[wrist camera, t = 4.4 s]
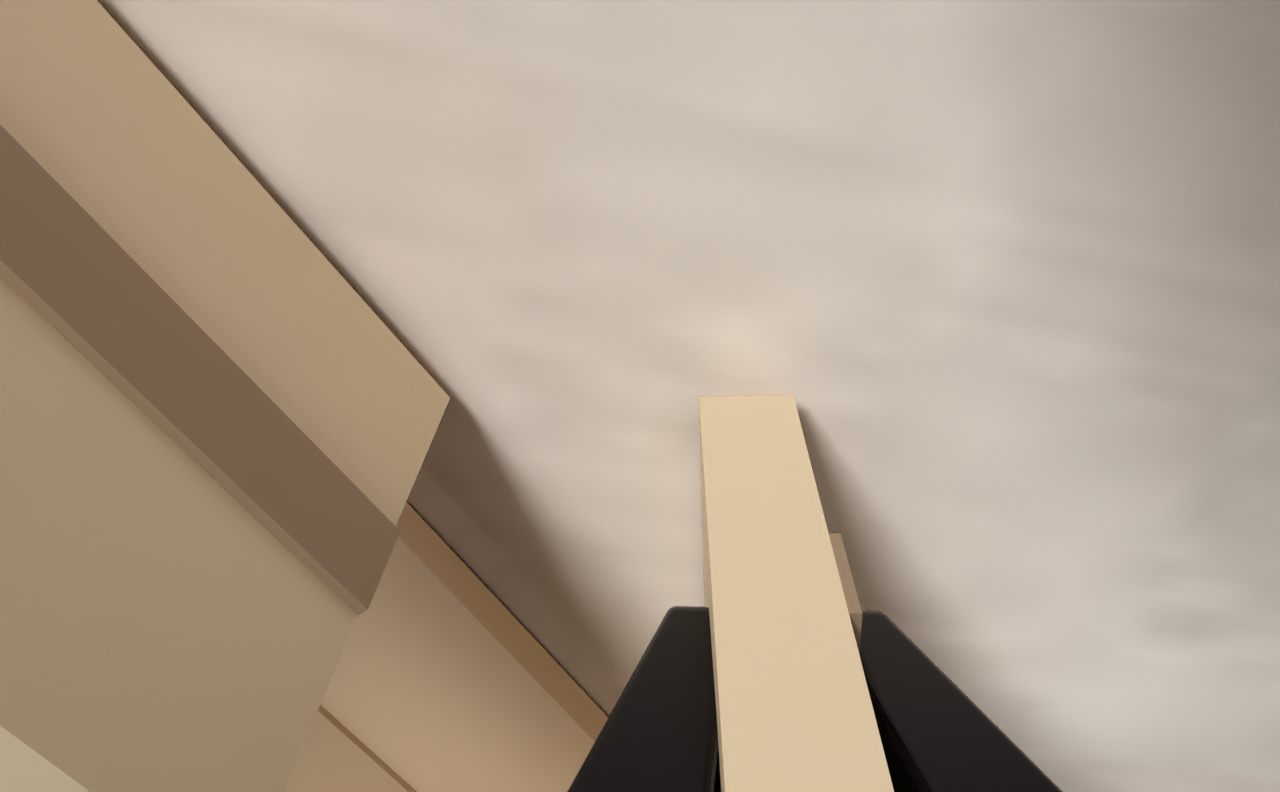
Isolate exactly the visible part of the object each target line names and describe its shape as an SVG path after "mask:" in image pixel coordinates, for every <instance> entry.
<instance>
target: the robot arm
mask: <svg viewBox="0 0 1280 792" xmlns="http://www.w3.org/2000/svg"><path fill="white" fill-rule="evenodd" d="M862 613H863V614H862V628H861V641H860V659H861V663H862V667H863V671H864V675H865V679H866V683H867V687H868V691H869V695H870V699H871V703H872V706H873V710H874V714H875V718H876V722H877V726H878V730H879V734H880V738H881V742H882V746H883V750H884V754H885V758H886V762H887V766H888V770H889V773H890V777H891V781H892V785H893V789H894V792H1062V791H1061V790H1060V789H1059V788H1058V787H1057V786H1056V785H1055V784H1054V783H1053V782H1052V781H1051V780H1050V779H1049V778H1048V777H1047V776H1046V775H1045V774H1044V773H1043V772H1042V771H1041V770H1040V769H1039V768H1038V767H1037V766H1036V765H1035V764H1034V763H1033V762H1032V761H1031V760H1030V759H1029V758H1028V757H1027V756H1026V755H1025V754H1024V753H1023V752H1022V751H1021V750H1020V749H1019V748H1018V747H1017V746H1016V745H1015V744H1014V743H1013V742H1012V741H1011V740H1010V739H1009V738H1008V737H1007V736H1006V735H1005V734H1004V733H1003V732H1002V731H1001V730H1000V729H999V728H998V727H997V726H996V725H995V724H994V723H993V722H992V721H991V720H990V719H989V718H988V717H987V716H986V715H985V714H984V713H983V712H982V711H981V710H980V709H979V708H978V707H977V706H976V705H975V704H974V703H973V702H972V701H971V700H970V699H969V698H968V697H967V696H966V695H965V694H964V693H963V692H962V691H961V690H960V689H959V688H958V687H957V686H956V685H955V684H954V683H953V682H952V681H951V680H950V679H949V678H948V677H947V676H946V675H945V674H944V673H943V672H942V671H941V670H940V669H939V668H938V667H937V666H936V665H935V664H934V663H933V662H932V661H931V660H930V659H929V658H928V657H927V656H926V655H925V654H924V653H923V652H922V651H921V650H920V649H919V648H918V647H917V646H916V645H915V644H914V643H913V642H912V641H911V640H910V639H909V638H908V637H907V636H906V635H905V634H904V633H903V632H902V631H901V630H900V629H899V628H898V627H897V626H896V625H895V624H894V623H893V622H892V621H891V620H890V619H889V618H888V617H887V616H886V615H885V614H883V613H881V612H879V611H866V610H862ZM717 778H718V730H717V715H716V700H715V686H714V672H713V658H712V644H711V630H710V616H709V608H708V607H690V606H674V607H672V608H670V609H669V610H668V612H667V613H666V615H665V617H664V618H663V620H662V622H661V624H660V626H659V627H658V629H657V631H656V633H655V635H654V636H653V638H652V640H651V642H650V644H649V645H648V647H647V649H646V651H645V653H644V654H643V656H642V658H641V660H640V662H639V663H638V665H637V667H636V669H635V671H634V672H633V674H632V676H631V678H630V680H629V681H628V683H627V685H626V687H625V689H624V690H623V692H622V694H621V696H620V697H619V699H618V701H617V703H616V705H615V706H614V708H613V710H612V712H611V714H610V715H609V717H608V719H607V721H606V723H605V724H604V726H603V728H602V730H601V732H600V733H599V735H598V737H597V739H596V741H595V742H594V744H593V746H592V748H591V750H590V751H589V753H588V755H587V757H586V759H585V760H584V762H583V764H582V766H581V768H580V769H579V771H578V773H577V775H576V777H575V778H574V780H573V782H572V784H571V786H570V787H569V789H568V791H567V792H717Z"/></svg>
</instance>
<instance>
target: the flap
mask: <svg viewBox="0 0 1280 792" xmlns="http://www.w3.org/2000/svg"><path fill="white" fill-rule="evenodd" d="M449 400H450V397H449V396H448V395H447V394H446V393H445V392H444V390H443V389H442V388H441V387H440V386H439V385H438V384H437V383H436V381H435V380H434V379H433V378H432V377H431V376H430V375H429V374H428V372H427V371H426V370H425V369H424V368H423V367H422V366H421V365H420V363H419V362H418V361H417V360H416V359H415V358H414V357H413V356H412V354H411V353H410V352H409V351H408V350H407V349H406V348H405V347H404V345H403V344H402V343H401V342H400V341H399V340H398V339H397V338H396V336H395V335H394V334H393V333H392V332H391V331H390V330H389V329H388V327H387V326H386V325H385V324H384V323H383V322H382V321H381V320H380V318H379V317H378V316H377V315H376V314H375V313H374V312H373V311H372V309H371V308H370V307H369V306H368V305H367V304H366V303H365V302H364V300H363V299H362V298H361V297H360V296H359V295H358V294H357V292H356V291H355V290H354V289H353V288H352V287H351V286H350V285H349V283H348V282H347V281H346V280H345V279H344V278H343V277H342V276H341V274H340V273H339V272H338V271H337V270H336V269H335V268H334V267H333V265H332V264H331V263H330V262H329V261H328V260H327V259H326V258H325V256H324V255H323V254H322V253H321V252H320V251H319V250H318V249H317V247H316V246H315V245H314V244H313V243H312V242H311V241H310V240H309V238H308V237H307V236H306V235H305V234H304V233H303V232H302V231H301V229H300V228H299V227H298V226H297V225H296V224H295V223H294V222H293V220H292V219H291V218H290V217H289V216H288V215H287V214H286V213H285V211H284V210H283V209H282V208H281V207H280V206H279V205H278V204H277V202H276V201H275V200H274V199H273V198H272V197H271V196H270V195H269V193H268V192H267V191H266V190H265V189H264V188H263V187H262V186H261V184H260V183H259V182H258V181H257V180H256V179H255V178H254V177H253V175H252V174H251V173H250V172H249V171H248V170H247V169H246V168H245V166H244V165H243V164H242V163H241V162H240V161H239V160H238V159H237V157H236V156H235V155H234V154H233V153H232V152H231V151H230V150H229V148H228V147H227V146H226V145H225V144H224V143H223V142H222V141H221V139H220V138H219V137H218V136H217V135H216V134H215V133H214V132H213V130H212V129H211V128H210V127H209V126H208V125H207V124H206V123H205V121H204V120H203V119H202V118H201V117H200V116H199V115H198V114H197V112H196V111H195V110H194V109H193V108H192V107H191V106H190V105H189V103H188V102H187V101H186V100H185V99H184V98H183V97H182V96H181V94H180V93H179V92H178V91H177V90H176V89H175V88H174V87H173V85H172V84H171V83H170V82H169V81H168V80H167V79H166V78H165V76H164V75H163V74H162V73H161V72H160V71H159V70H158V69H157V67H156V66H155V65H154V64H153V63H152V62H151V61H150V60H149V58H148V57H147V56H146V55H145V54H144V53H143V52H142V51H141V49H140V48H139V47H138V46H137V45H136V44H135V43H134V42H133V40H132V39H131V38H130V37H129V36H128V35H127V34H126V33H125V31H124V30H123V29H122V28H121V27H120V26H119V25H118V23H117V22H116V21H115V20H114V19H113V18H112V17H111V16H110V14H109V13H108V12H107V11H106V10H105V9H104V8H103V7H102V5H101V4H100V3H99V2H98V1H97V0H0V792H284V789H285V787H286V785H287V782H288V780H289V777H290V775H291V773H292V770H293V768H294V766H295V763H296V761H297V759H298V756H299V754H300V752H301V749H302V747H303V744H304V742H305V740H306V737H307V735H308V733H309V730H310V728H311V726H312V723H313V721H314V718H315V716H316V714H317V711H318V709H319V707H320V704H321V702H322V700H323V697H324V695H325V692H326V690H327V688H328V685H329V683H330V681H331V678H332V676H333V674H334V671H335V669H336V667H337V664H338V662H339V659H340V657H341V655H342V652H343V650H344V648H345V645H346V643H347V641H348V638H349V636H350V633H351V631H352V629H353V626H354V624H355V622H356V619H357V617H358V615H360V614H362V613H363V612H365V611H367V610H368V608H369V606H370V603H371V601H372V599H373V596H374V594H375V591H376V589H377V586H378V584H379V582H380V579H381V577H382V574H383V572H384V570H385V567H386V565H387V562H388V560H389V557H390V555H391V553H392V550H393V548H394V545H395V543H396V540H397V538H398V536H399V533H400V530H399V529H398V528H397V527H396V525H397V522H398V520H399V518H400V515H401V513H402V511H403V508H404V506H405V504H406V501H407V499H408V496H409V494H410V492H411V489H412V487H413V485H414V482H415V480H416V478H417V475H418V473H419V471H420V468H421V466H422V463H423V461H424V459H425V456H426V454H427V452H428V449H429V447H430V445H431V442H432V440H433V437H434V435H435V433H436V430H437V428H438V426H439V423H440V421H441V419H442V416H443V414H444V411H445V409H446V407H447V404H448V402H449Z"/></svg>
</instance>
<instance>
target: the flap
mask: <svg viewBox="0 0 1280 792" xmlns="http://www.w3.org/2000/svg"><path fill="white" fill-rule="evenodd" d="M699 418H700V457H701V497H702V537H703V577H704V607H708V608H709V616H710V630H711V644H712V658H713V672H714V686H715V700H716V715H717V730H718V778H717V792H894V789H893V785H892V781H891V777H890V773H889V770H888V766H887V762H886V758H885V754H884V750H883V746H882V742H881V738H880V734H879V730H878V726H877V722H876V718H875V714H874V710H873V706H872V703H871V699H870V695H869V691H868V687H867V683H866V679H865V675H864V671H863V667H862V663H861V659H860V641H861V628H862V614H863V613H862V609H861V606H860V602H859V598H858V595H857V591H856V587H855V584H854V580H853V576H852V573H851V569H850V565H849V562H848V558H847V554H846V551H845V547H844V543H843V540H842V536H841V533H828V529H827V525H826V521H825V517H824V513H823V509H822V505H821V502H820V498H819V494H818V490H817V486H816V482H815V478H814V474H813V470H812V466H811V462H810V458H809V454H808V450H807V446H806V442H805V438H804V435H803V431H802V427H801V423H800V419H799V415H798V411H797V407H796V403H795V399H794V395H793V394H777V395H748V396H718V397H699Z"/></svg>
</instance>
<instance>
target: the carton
mask: <svg viewBox="0 0 1280 792" xmlns="http://www.w3.org/2000/svg"><path fill="white" fill-rule="evenodd" d="M396 527H397V528H398V529H399V530H400V533H399V536H398V538H397V540H396V543H395V545H394V548H393V550H392V553H391V555H390V557H389V560H388V562H387V565H386V567H385V570H384V572H383V574H382V577H381V579H380V582H379V584H378V586H377V589H376V591H375V594H374V596H373V599H372V601H371V603H370V606H369V608H368V610H367V611H365V612H363V613H362V614H360V615H358V617H357V619H356V622H355V624H354V626H353V629H352V631H351V633H350V636H349V638H348V641H347V643H346V645H345V648H344V650H343V652H342V655H341V657H340V659H339V662H338V664H337V667H336V669H335V671H334V674H333V676H332V678H331V681H330V683H329V685H328V688H327V690H326V692H325V695H324V697H323V700H322V702H321V704H320V707H319V709H318V711H317V714H316V716H315V718H314V721H313V723H312V726H311V728H310V730H309V733H308V735H307V737H306V740H305V742H304V744H303V747H302V749H301V752H300V754H299V756H298V759H297V761H296V763H295V766H294V768H293V770H292V773H291V775H290V777H289V780H288V782H287V785H286V787H285V789H284V792H567V791H568V789H569V787H570V786H571V784H572V782H573V780H574V778H575V777H576V775H577V773H578V771H579V769H580V768H581V766H582V764H583V762H584V760H585V759H586V757H587V755H588V753H589V751H590V750H591V748H592V746H593V744H594V742H595V741H596V739H597V737H598V735H599V733H600V732H601V730H602V728H603V726H604V724H605V723H606V721H607V719H608V717H607V716H606V715H605V713H604V712H603V711H602V710H601V709H600V708H599V707H598V706H597V705H596V704H595V703H594V702H593V701H592V700H591V699H590V697H589V696H588V695H587V694H586V693H585V692H584V691H583V690H582V689H581V688H580V687H579V686H578V685H577V684H576V682H575V681H574V680H573V679H572V678H571V677H570V676H569V675H568V674H567V673H566V672H565V671H564V670H563V669H562V668H561V666H560V665H559V664H558V663H557V662H556V661H555V660H554V659H553V658H552V657H551V656H550V655H549V654H548V653H547V651H546V650H545V649H544V648H543V647H542V646H541V645H540V644H539V643H538V642H537V641H536V640H535V639H534V638H533V637H532V635H531V634H530V633H529V632H528V631H527V630H526V629H525V628H524V627H523V626H522V625H521V624H520V623H519V622H518V620H517V619H516V618H515V617H514V616H513V615H512V614H511V613H510V612H509V611H508V610H507V609H506V608H505V607H504V606H503V604H502V603H501V602H500V601H499V600H498V599H497V598H496V597H495V596H494V595H493V594H492V593H491V592H490V591H489V589H488V588H487V587H486V586H485V585H484V584H483V583H482V582H481V581H480V580H479V579H478V578H477V577H476V576H475V575H474V573H473V572H472V571H471V570H470V569H469V568H468V567H467V566H466V565H465V564H464V563H463V562H462V561H461V560H460V559H459V557H458V556H457V555H456V554H455V553H454V552H453V551H452V550H451V549H450V548H449V547H448V546H447V545H446V544H445V542H444V541H443V540H442V539H441V538H440V537H439V536H438V535H437V534H436V533H435V532H434V531H433V530H432V529H431V528H430V526H429V525H428V524H427V523H426V522H425V521H424V520H423V519H422V518H421V517H420V516H419V515H418V514H417V513H416V511H415V510H414V509H413V508H412V507H411V506H410V505H409V504H408V503H407V502H406V504H405V506H404V508H403V511H402V513H401V515H400V518H399V520H398V522H397V525H396Z"/></svg>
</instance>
